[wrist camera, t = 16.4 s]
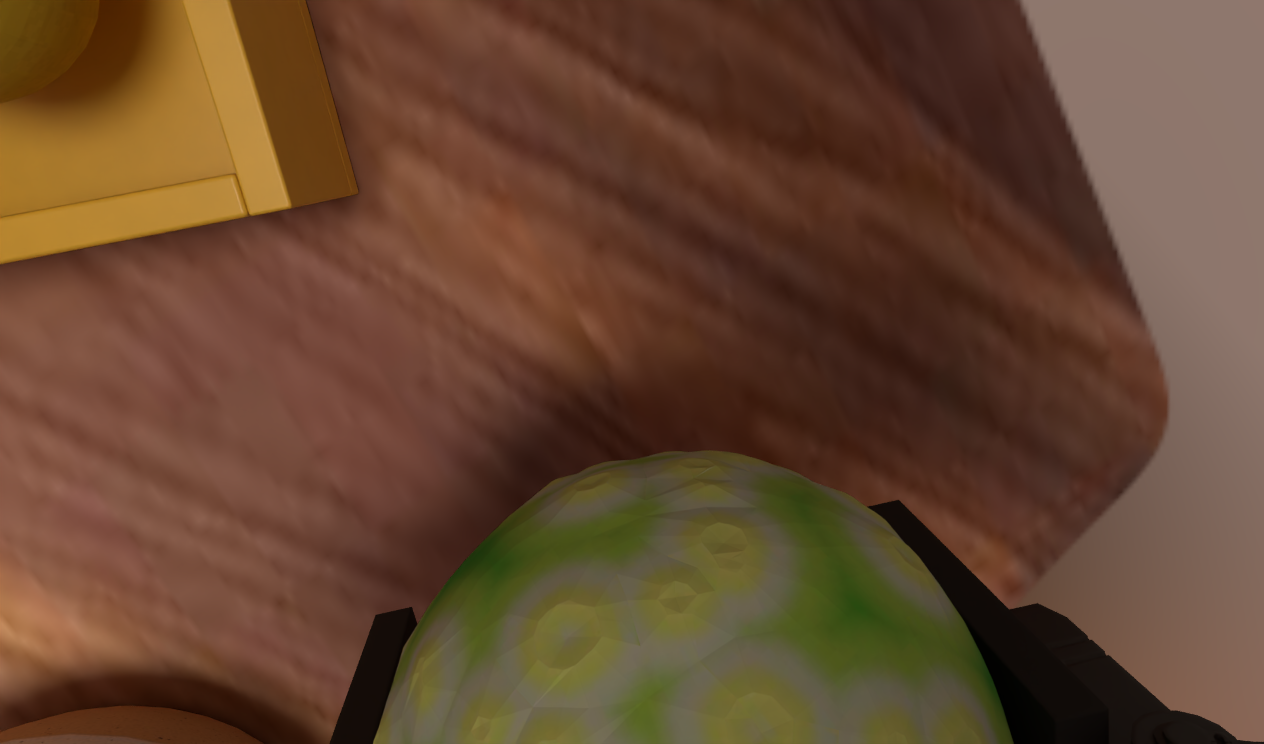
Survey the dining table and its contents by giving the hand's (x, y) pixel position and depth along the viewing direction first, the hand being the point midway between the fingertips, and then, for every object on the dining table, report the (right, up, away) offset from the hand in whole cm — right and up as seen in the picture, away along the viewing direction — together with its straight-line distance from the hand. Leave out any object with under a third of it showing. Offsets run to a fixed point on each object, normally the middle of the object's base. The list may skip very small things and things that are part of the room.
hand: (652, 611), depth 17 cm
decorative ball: (0, 0, +1) cm, 1 cm away
